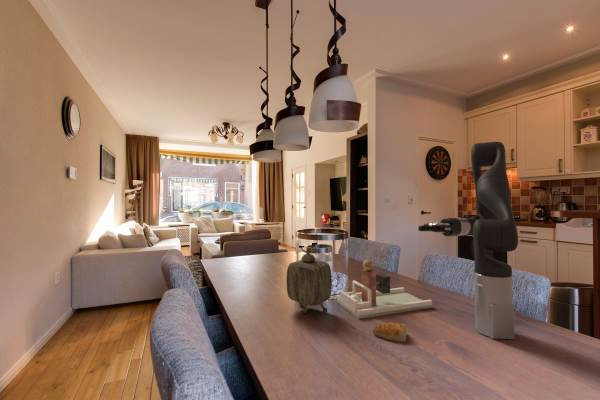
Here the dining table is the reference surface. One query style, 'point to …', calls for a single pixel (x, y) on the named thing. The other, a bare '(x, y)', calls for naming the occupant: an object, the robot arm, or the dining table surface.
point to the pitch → (390, 303)
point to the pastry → (391, 331)
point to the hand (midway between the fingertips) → (419, 228)
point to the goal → (353, 303)
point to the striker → (373, 282)
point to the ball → (356, 298)
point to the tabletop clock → (309, 281)
